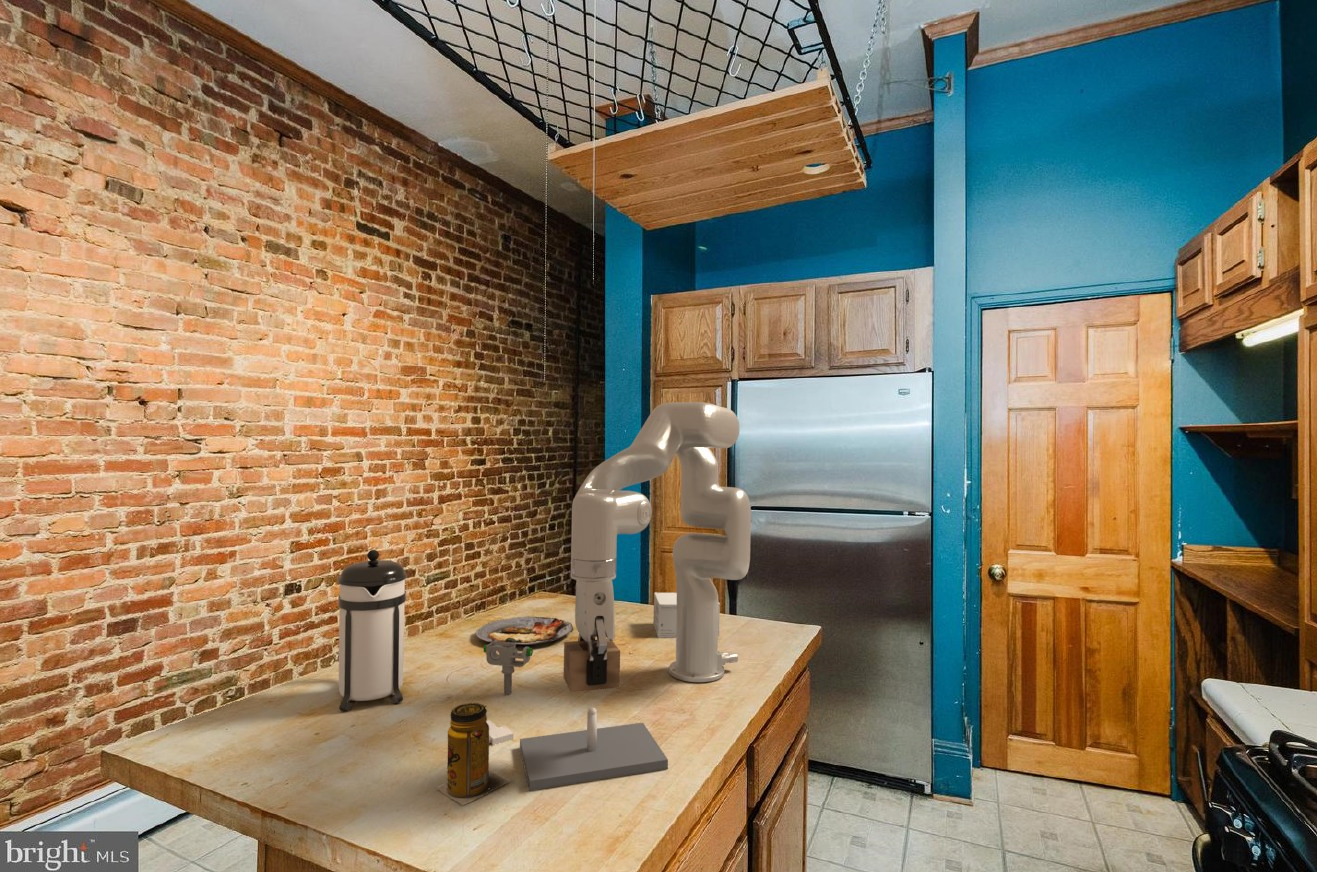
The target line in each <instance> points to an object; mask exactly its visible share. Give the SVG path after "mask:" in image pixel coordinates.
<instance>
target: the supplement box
mask: <svg viewBox="0 0 1317 872" xmlns="http://www.w3.org/2000/svg"><path fill="white" fill-rule="evenodd" d="M720 607H721V603H720V602H719V601H718V638H719V637H720V622H721V621H720V617H721V616H720V610H721V608H720ZM676 613H677V592H658V591H657V592H656V591H655V592H654V593H653V622H652V623H653V627H654V629H655V633H656V635H657V638H659V639H660V638H661V639H665V638H667V639H668V638H676Z"/></svg>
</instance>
